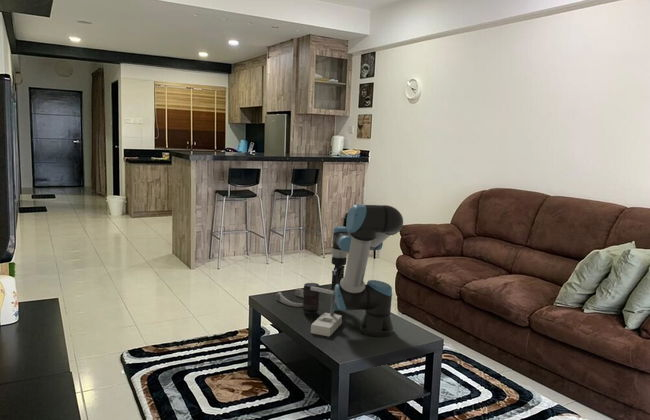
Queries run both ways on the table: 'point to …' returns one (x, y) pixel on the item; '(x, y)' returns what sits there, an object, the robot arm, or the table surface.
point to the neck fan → (284, 300)
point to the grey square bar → (323, 290)
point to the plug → (336, 307)
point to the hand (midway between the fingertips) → (336, 300)
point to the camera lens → (310, 299)
